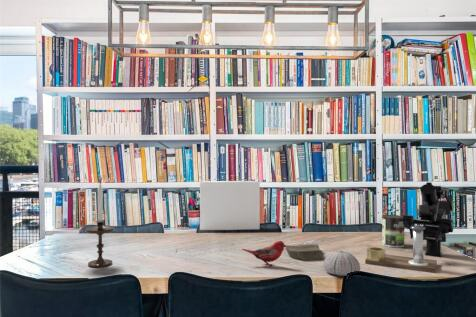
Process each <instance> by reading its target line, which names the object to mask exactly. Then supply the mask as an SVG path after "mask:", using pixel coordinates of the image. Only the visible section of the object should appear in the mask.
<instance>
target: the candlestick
mask: <svg viewBox="0 0 476 317" xmlns="http://www.w3.org/2000/svg"><path fill="white" fill-rule="evenodd" d="M100 177H101V178H100V179H99V184H98V187H97V220H96V221H95V223H96V224H97V225H95V226H90V227H86V228H85V233H87V234H96V235H97V236H98V239H97V240H98V242H97V244H96V248H97V251H96V253H98V255H97V256H98V257H97V259H95V260H91V261H88V263H87V266H88V268H91V269H92V268H93V269H98V268H99V269H100V268H106V267H107V268H108V267H110V266H112V265H113V260H112V259H107V258H106V259H105V258H103V253H104V250H103V248H104V247H105V244H104V243H103V235H105V234H107V233H111V232H114V231H115V228H116V227H115V226H113V225H112V226H111V225H104V223H105V222H106V220H104V219H103V218H104V215H103V214H104V213H103V212H104V208H103V206H104V203H103V202H104V200H103V199H104V196H103V194H104V192H103V191H104V188H103V187H102V180H103V177H102V176H100Z"/></svg>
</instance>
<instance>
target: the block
mask: <svg viewBox="0 0 476 317" xmlns="http://www.w3.org/2000/svg"><path fill="white" fill-rule="evenodd" d="M260 183H261V182H260V181H258V180H214V181H213V180H208V181H207V180H203V181H199V230H200V231H235V230H236V231H237V230H261V228H260V226H261V225H260V224H261V223H260V222H261V218H260V217H261V215H260V214H261V212H260V211H261V210H260V209H261V207H260V206H261V205H260V204H261V200H260V198H261V196H260V192H261V191H260V189H261V187H260V186H261V185H260Z"/></svg>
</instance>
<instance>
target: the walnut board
mask: <svg viewBox="0 0 476 317" xmlns="http://www.w3.org/2000/svg"><path fill="white" fill-rule="evenodd" d="M409 260H413V257H409V256H404V255H403V256H401V255H393V254H386V253H385V260H384V261H372V260H369V259H367V258H366V259H365V260H364V261H365V262H364V264H367V265H374V266H379V267H380V266H381V267H388V268H389V267H390V268H397V269H404V270H410V271H411V270H412V271H418V272H427V273H436V270H437V266H438V265H437V264H438V263H437V262H438V261H437V260H435V259H427V258H423V261H425V262H427V263H428V266H414V265H410V264H409V263H408V261H409Z"/></svg>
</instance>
